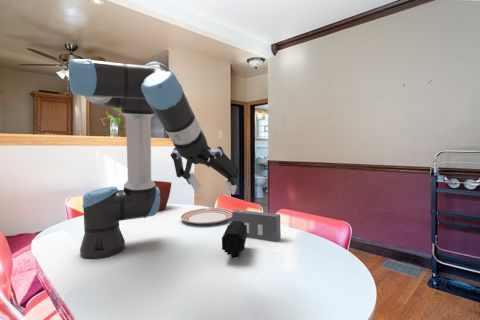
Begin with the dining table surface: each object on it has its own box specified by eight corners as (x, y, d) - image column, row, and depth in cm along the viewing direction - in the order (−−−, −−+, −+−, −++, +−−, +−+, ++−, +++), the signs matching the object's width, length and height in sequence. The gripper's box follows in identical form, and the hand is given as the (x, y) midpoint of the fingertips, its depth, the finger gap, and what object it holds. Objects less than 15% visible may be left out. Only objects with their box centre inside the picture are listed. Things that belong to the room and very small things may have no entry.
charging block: (276, 242, 107) (276, 216, 106) (232, 235, 117) (231, 211, 116) (280, 238, 111) (280, 213, 110) (237, 232, 121) (236, 209, 120)
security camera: (247, 244, 106) (247, 218, 105) (243, 265, 87) (242, 234, 87) (229, 244, 106) (229, 218, 106) (222, 264, 88) (221, 234, 88)
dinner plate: (226, 228, 127) (226, 221, 127) (171, 226, 133) (171, 220, 133) (238, 214, 154) (238, 208, 154) (192, 213, 160) (192, 207, 159)
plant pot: (155, 205, 182) (154, 180, 181) (173, 209, 170) (172, 182, 169) (128, 211, 167) (126, 183, 166) (145, 215, 155) (144, 186, 154)
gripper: (139, 147, 67) (177, 199, 82) (228, 145, 59) (251, 202, 74) (152, 127, 72) (185, 179, 87) (236, 122, 64) (256, 180, 79)
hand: (216, 190), depth 81 cm, fingers open, 11 cm apart
